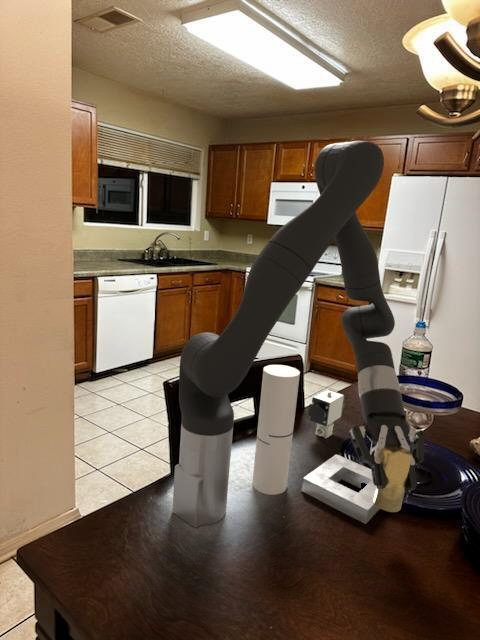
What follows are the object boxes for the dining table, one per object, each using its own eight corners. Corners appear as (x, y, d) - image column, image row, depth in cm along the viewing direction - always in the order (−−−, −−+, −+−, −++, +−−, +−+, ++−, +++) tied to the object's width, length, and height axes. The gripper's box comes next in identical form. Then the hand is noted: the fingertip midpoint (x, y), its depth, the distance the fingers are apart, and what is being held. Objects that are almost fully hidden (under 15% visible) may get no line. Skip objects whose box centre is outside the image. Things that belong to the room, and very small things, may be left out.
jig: (365, 524, 82) (367, 509, 81) (301, 491, 90) (303, 477, 90) (394, 493, 92) (396, 480, 92) (334, 466, 101) (336, 454, 100)
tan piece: (395, 515, 74) (406, 461, 72) (369, 502, 77) (379, 450, 75) (404, 504, 77) (415, 452, 75) (379, 492, 80) (389, 442, 78)
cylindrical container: (284, 497, 88) (298, 379, 82) (249, 490, 89) (260, 373, 84) (288, 478, 94) (301, 367, 89) (255, 472, 96) (266, 362, 90)
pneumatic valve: (341, 430, 119) (347, 389, 116) (320, 445, 110) (326, 400, 107) (323, 424, 122) (329, 383, 120) (301, 437, 113) (307, 394, 111)
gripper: (350, 384, 80) (364, 482, 70) (425, 389, 81) (448, 486, 72) (337, 399, 86) (347, 492, 77) (406, 404, 87) (425, 495, 78)
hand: (396, 488), depth 74 cm, fingers closed on tan piece, 4 cm apart
